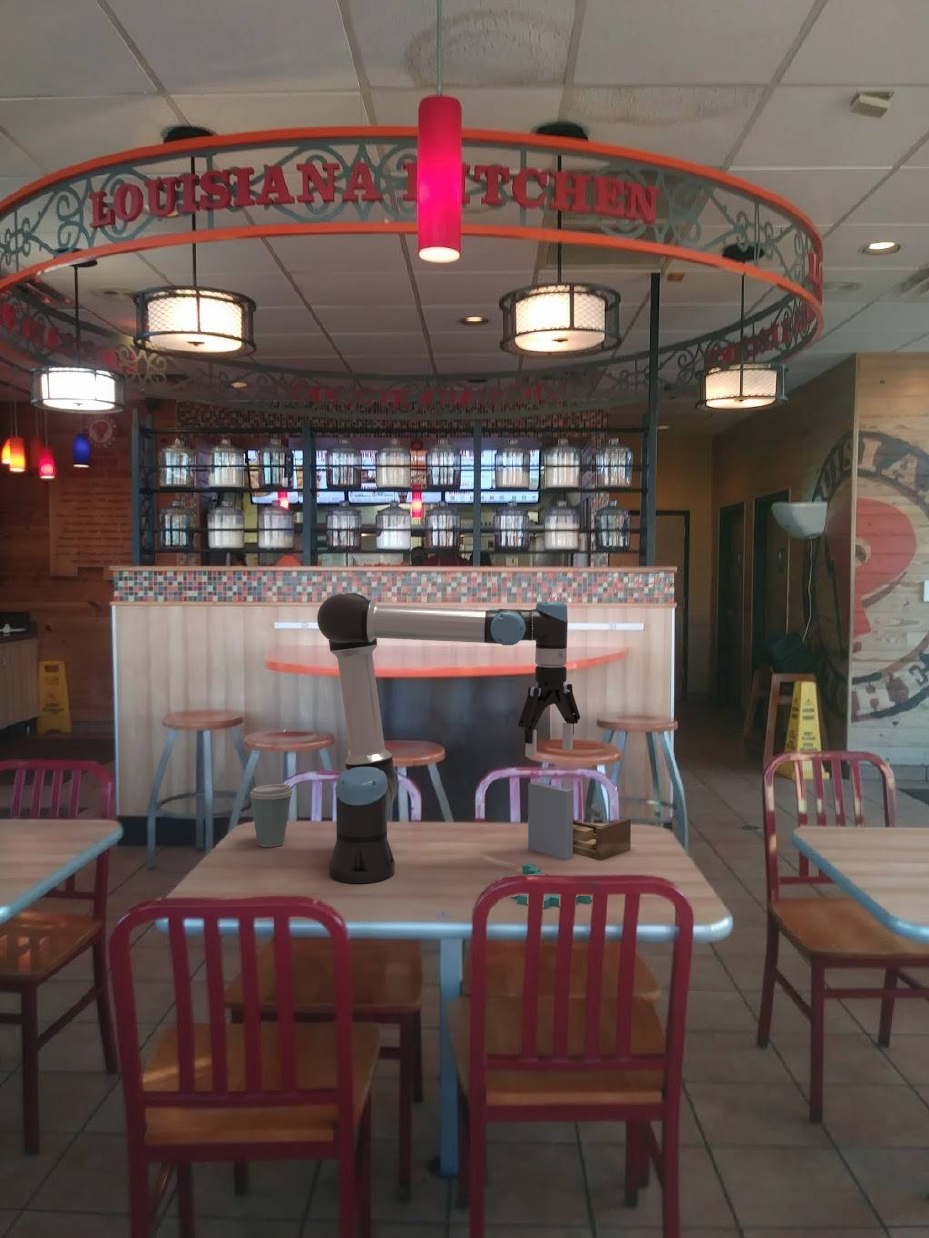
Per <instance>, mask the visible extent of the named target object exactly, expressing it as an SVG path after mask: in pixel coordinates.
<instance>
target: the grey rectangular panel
mask: <svg viewBox="0 0 929 1238" xmlns="http://www.w3.org/2000/svg"><path fill="white" fill-rule="evenodd" d="M527 785H528V787H527V788H528V789H527V790H528V792H527V793H528V800H527V802H528V805H527V806H528V808H527V809H528V810H527V815H528V816H527V817H528V819H527V825H528V826H527V828H528V829H527V831H528V832H527V833H528V834H527V839H528V840H527V849H528V850H531V851H534V852H538V853H541V854H544V855H548V856H551V857H555V858H559V859H562V860H565V861H567V860H570V859H573V858H574V853H573V819H574V789H570V788H565V787H563V786H558V785H552V784H548V783H545V782H544V783H543V782H540V781H539V782H538V781H532V782H528V784H527Z"/></svg>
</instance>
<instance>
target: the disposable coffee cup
mask: <svg viewBox="0 0 929 1238" xmlns="http://www.w3.org/2000/svg"><path fill="white" fill-rule="evenodd" d="M292 795H293V790H292V789H291V785H290V784H286V783H276V784H267V785H266V784H265V785H260V786H257V787H254V788H253V789H252V790H251V791H250V793H249V797H250V801H251V802H250V803H251V808H252V815H253V823H254V829H255V837H256V842H257V845H258V846H259V847H263V848H275V847H279V846H283V844H284V842H285V838H286V831H287V826H288V824H287V823H288V819H289V818H288V817H289V811H290V804H291V797H292Z"/></svg>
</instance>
